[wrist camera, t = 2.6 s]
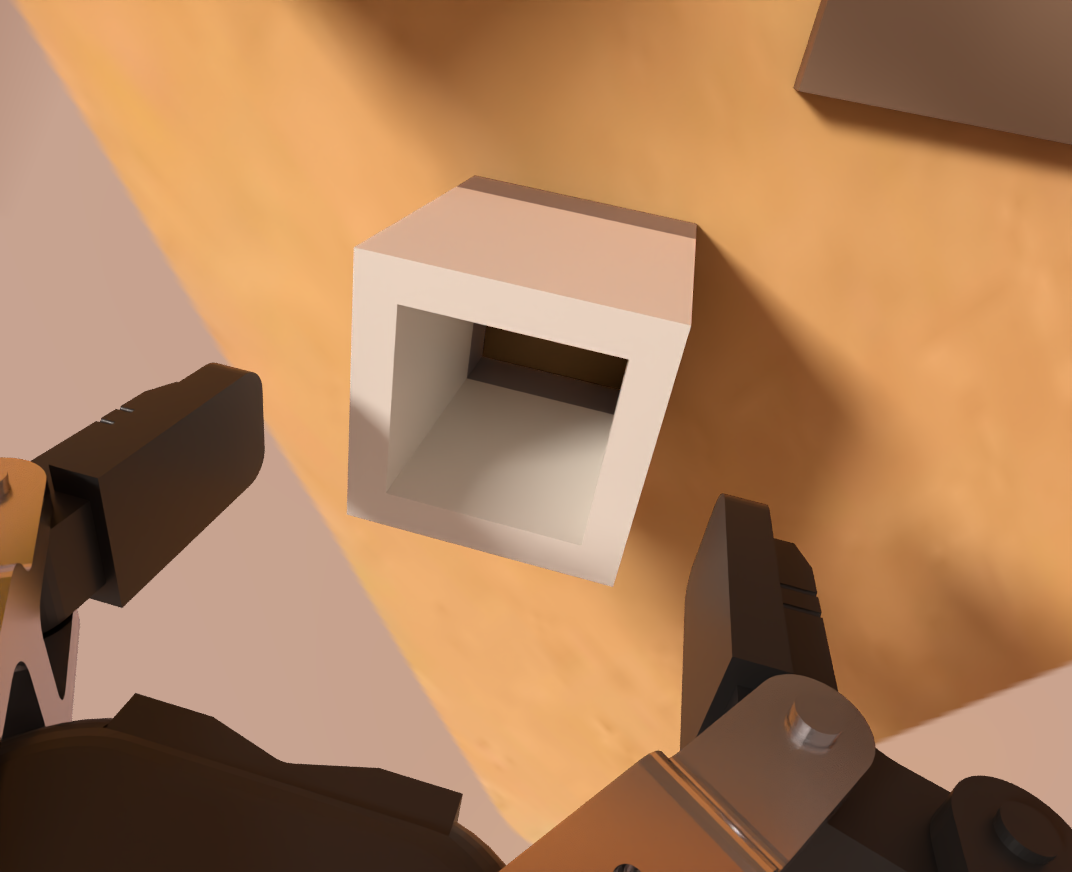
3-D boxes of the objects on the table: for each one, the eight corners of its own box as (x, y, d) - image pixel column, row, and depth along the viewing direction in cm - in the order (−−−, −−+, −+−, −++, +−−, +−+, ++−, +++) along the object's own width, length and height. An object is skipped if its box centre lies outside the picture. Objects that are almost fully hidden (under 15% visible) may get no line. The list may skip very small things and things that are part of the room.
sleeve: (474, 175, 17) (354, 246, 11) (696, 223, 17) (691, 325, 11) (452, 374, 20) (346, 514, 14) (641, 421, 20) (612, 586, 14)
